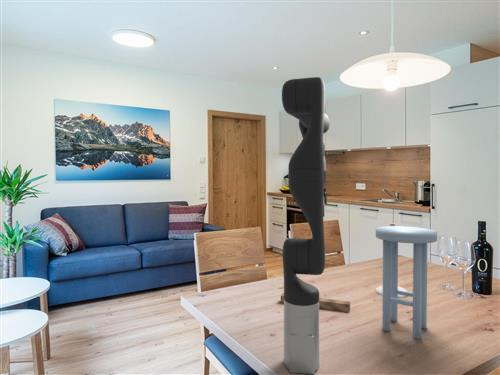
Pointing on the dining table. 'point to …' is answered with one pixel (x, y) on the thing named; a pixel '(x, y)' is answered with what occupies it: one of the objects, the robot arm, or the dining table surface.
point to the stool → (390, 273)
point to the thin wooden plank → (330, 304)
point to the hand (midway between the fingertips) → (316, 217)
